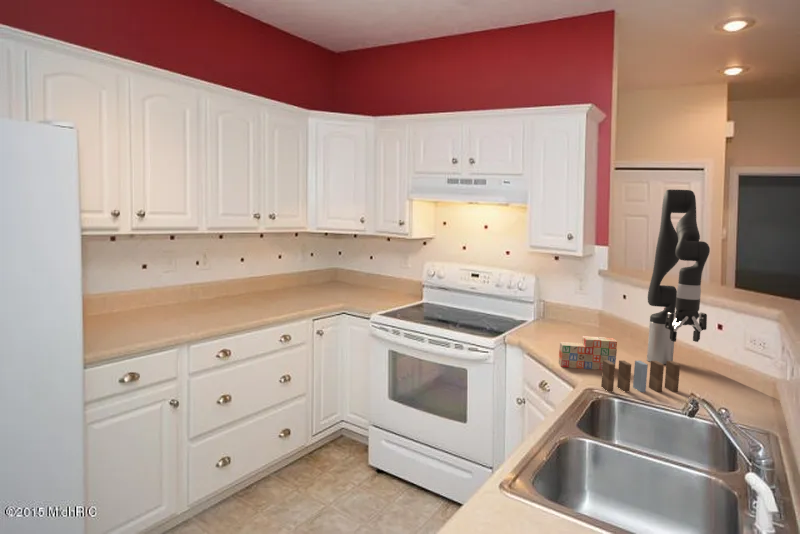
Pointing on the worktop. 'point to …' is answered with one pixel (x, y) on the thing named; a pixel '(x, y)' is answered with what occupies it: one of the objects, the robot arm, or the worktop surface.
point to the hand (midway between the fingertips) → (684, 341)
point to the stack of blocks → (588, 353)
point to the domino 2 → (640, 376)
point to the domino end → (608, 375)
